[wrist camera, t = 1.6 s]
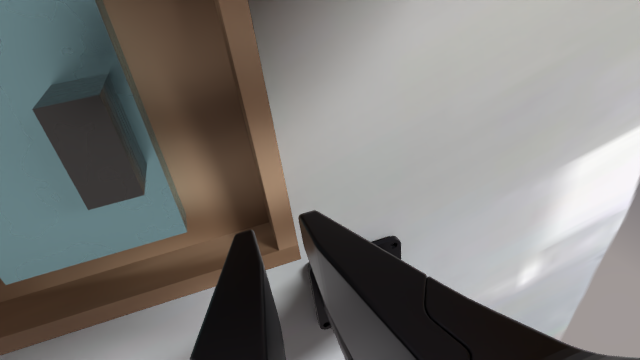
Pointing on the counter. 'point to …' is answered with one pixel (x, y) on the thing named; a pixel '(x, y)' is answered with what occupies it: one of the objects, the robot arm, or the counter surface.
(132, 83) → the cover plate
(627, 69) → the counter surface
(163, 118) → the walnut box
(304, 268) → the counter surface
